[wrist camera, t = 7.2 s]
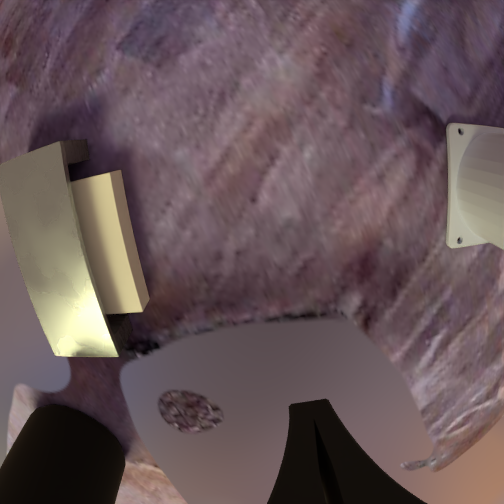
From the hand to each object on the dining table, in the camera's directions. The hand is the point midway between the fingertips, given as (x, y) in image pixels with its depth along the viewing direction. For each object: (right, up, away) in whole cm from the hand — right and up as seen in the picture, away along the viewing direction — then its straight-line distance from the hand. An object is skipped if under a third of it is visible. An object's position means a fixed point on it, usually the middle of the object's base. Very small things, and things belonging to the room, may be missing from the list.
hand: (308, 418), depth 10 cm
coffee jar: (-19, -12, +14) cm, 27 cm away
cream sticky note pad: (-12, +6, +7) cm, 15 cm away
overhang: (-13, +6, +7) cm, 16 cm away
